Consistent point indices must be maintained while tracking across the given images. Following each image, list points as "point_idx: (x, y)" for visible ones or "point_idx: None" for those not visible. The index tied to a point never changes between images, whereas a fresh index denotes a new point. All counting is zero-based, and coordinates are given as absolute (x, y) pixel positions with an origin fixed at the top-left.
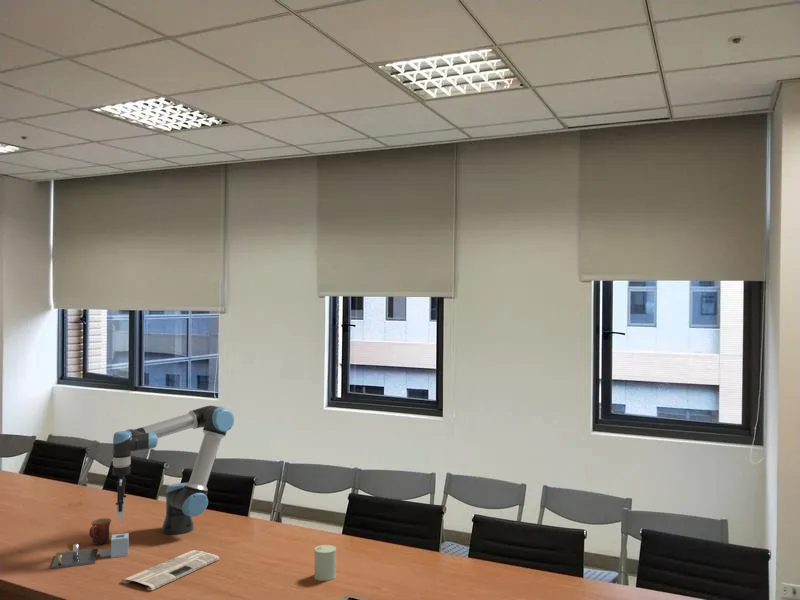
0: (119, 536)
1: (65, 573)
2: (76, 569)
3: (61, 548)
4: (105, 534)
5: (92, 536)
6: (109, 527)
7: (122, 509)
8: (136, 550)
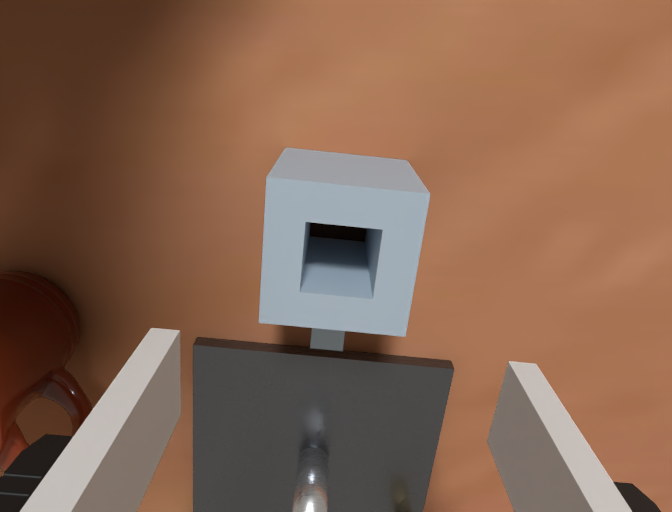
0: (302, 260)
1: None
2: None
3: None
4: (34, 326)
5: None
6: None
7: (609, 499)
8: (312, 85)
